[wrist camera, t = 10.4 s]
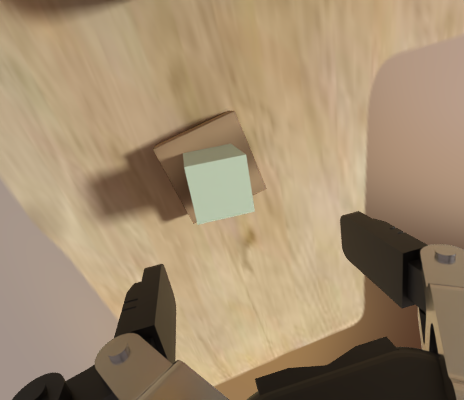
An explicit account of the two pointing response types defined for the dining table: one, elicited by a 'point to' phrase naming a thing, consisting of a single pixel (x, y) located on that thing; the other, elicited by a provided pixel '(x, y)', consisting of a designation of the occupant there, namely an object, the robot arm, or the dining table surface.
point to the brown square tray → (203, 137)
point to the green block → (218, 183)
